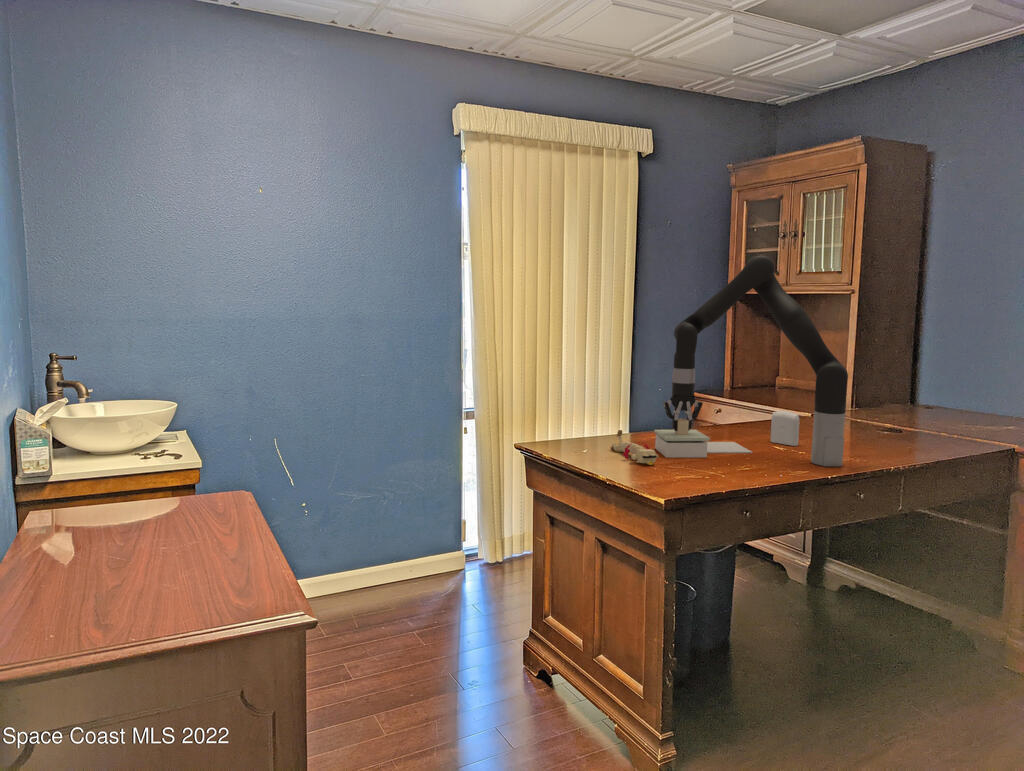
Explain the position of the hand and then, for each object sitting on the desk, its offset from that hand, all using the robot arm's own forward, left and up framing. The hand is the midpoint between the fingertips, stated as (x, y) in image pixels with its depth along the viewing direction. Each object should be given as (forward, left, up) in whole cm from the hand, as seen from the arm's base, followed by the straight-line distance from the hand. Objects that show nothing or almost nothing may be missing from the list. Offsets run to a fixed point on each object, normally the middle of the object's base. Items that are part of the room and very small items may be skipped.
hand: (681, 430), depth 245 cm
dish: (0, 0, -8) cm, 8 cm away
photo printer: (+15, -44, -8) cm, 47 cm away
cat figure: (-7, +18, -8) cm, 21 cm away
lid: (0, 0, -2) cm, 2 cm away
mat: (+8, -17, -8) cm, 20 cm away
